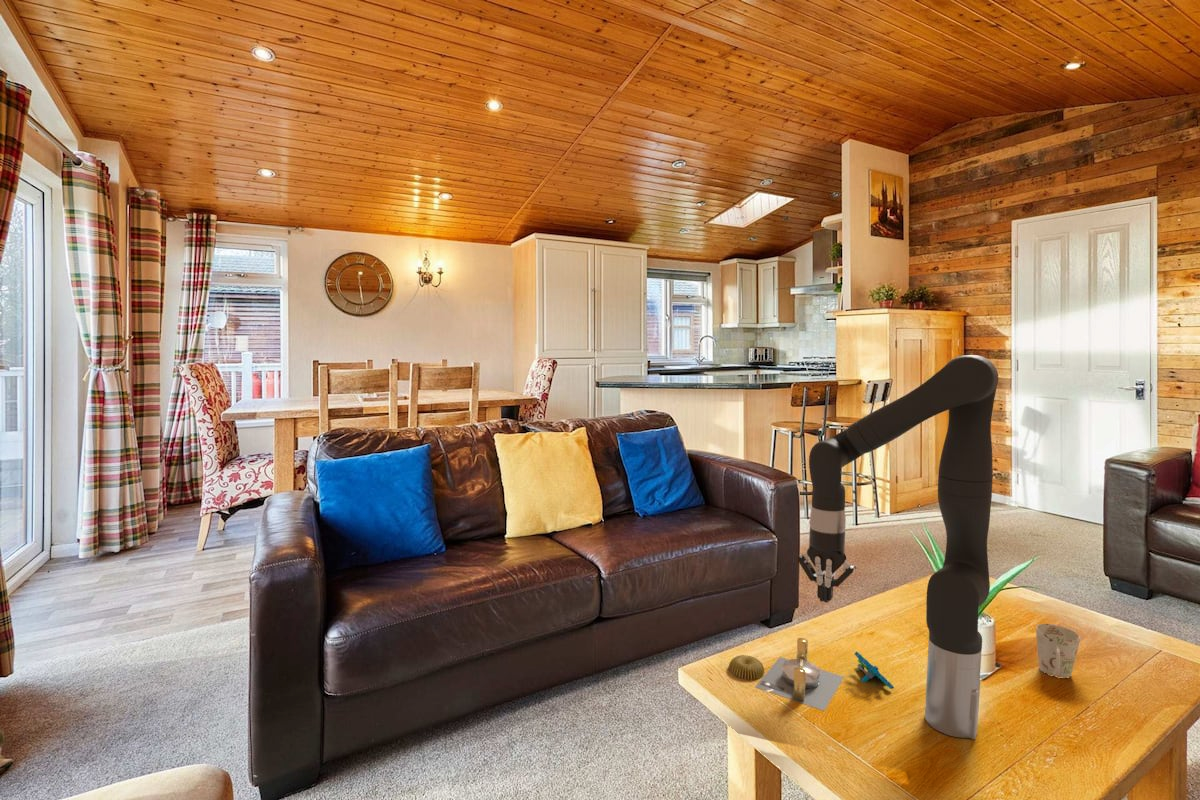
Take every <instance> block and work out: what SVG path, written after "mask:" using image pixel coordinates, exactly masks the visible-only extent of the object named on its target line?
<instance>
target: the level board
mask: <svg viewBox="0 0 1200 800" xmlns="http://www.w3.org/2000/svg"><path fill="white" fill-rule="evenodd" d="M787 660H790V659H788V658H785V657H781V656H779V658H777V660H776V661H775V662H774V663H773V665H772V666H771V667H770V669H769V670H768V671H766V673H764V675H763V676H762V677H761V678H760V680H759V681H758V683H757V684H756V685H755V688H757V689H759V690H762V691H765V692H766V693H771V694H774V695H777V696H780V697H782V698H785V699H788V700H791V701H794V702H797V703H800V704H802V705H806V706H809V707H810V708H814V709H818V710H819V711H822V712H823V711H824V712H825V711H826V710H827V708H828V705H829V704H830V702H831V700H832V699H833V697H834V696H835V694H836V692H837V690H838V689H839V687H840V685H841V683H842V682H843V679H844V678H845V676H844V675H840V674H837V673H834V672H831V671H826V670H825V669H822V668H819V670H820V678H819V684H818V685H817V686H816V687H813V688H805V699H804V700H797V699H795V698H794V697H793V685H791V684H789V683H787V682H786V681H785V680H784V679H783V677H782V668H783V663H784V662H785V661H787Z"/></svg>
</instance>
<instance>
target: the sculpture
mask: <svg viewBox="0 0 1200 800" xmlns="http://www.w3.org/2000/svg"><path fill="white" fill-rule="evenodd" d="M728 669H729V672H730V673H731V674H732V675H733V676H735V677H736V678H737V677H738V678H739V679H744V680H748V681H749V680H751V681H752V680H758V679H762V678H763V677H764V676H765V667H764V665H763V663H762V662H761V661H760V660H759V659H758V658H756V657H755V656H750V655H748V654H747V655H745V654H744V655H743V654H742V655H738V656H737V655H736V656H735V657H733V658H732V659H731V660H730V662H729V665H728Z"/></svg>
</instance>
